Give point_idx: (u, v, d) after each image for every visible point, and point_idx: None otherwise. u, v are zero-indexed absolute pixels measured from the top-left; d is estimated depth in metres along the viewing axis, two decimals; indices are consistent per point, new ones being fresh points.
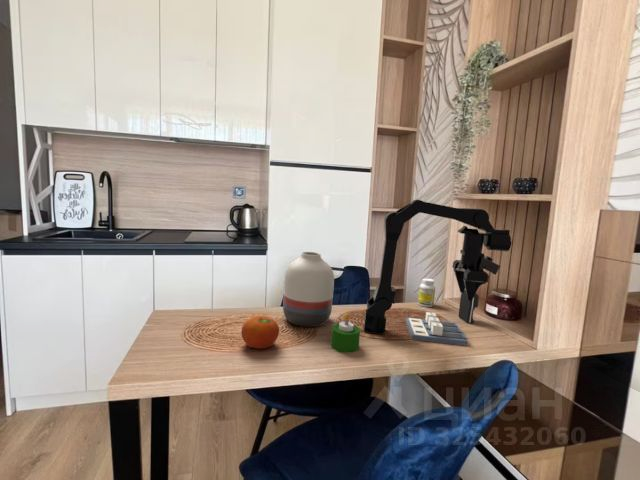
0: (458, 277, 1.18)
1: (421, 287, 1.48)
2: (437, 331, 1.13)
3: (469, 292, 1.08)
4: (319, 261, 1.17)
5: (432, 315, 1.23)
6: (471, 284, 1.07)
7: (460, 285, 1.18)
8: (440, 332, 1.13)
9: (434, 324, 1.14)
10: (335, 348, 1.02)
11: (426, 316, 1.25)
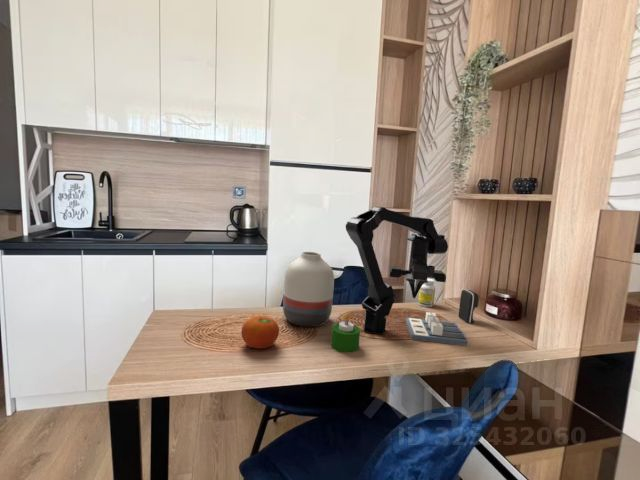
0: (416, 283, 1.25)
1: (421, 287, 1.48)
2: (437, 331, 1.13)
3: None
4: (319, 261, 1.17)
5: (432, 315, 1.23)
6: None
7: None
8: (440, 332, 1.13)
9: (434, 324, 1.14)
10: (335, 348, 1.02)
11: (426, 316, 1.25)
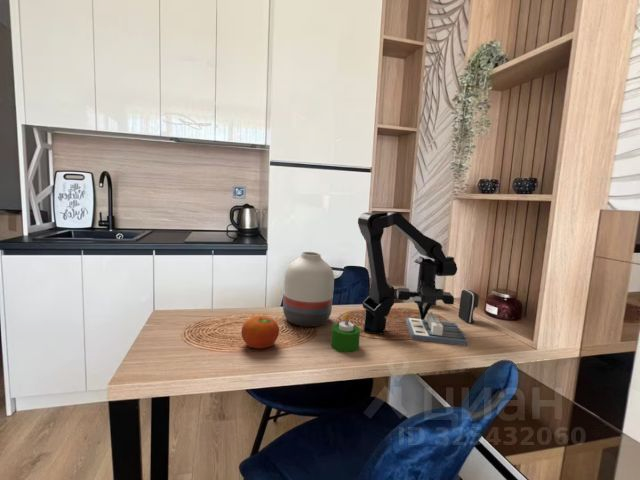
0: (424, 304, 1.26)
1: None
2: (437, 331, 1.13)
3: (419, 310, 1.25)
4: (319, 261, 1.17)
5: (432, 315, 1.23)
6: None
7: None
8: (440, 332, 1.13)
9: (434, 324, 1.14)
10: (335, 348, 1.02)
11: (426, 316, 1.25)
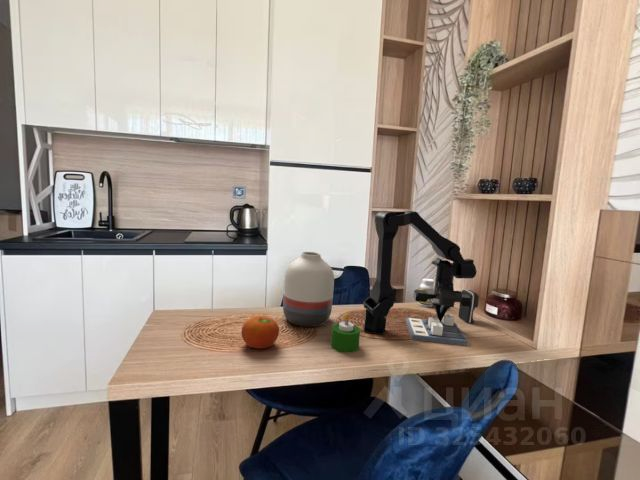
0: (441, 306, 1.25)
1: (421, 287, 1.48)
2: (437, 331, 1.13)
3: (436, 312, 1.25)
4: (319, 261, 1.17)
5: (450, 317, 1.22)
6: None
7: None
8: (440, 332, 1.13)
9: (434, 324, 1.14)
10: (335, 348, 1.02)
11: (444, 318, 1.24)
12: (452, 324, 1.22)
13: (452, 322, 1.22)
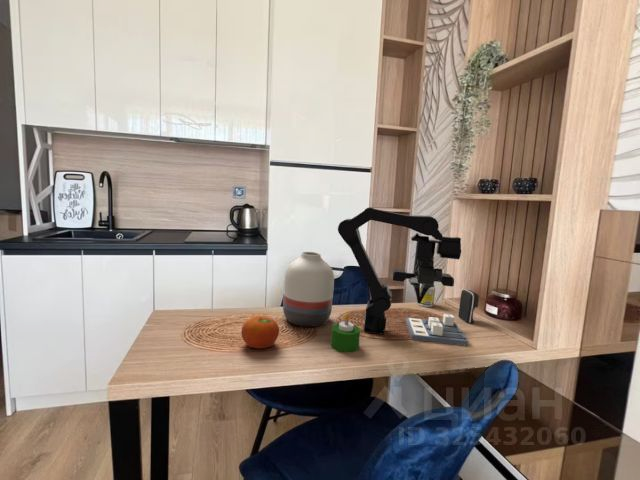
0: (421, 287, 1.15)
1: None
2: (437, 331, 1.13)
3: (415, 293, 1.15)
4: (319, 261, 1.17)
5: (450, 317, 1.22)
6: None
7: None
8: (440, 332, 1.13)
9: (434, 324, 1.14)
10: (335, 348, 1.02)
11: (444, 318, 1.24)
12: (452, 324, 1.22)
13: (452, 322, 1.22)
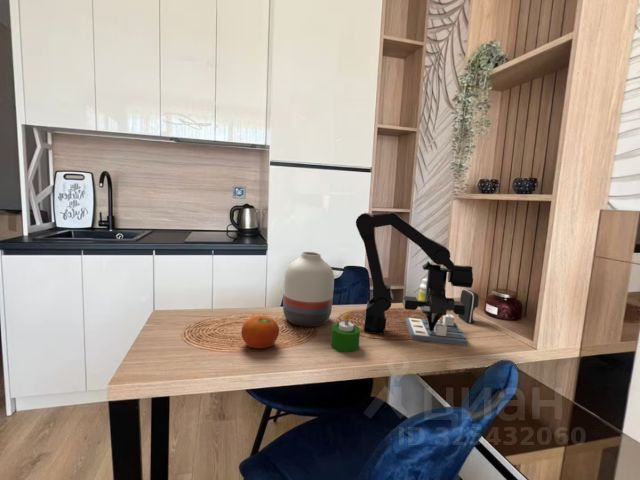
0: (432, 314, 1.16)
1: (421, 287, 1.48)
2: (441, 332, 1.13)
3: (427, 321, 1.15)
4: (319, 261, 1.17)
5: (450, 317, 1.22)
6: None
7: None
8: (444, 332, 1.13)
9: (438, 324, 1.14)
10: (335, 348, 1.02)
11: (444, 318, 1.24)
12: (452, 324, 1.22)
13: (452, 322, 1.22)
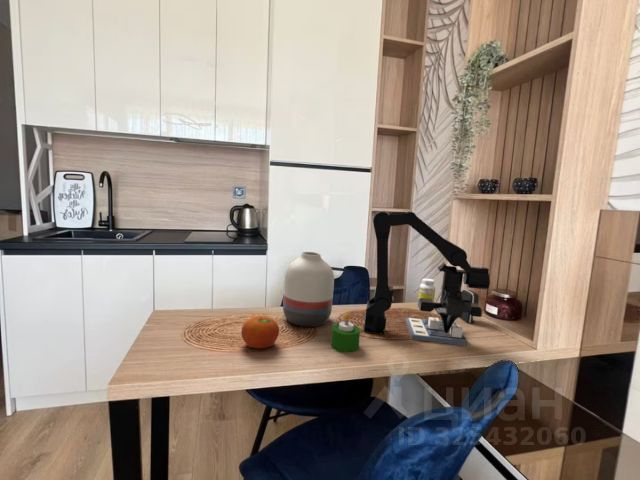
0: (447, 316, 1.15)
1: (421, 287, 1.48)
2: (456, 333, 1.13)
3: (442, 322, 1.15)
4: (319, 261, 1.17)
5: None
6: None
7: None
8: (459, 334, 1.12)
9: (453, 326, 1.14)
10: (335, 348, 1.02)
11: None
12: None
13: None
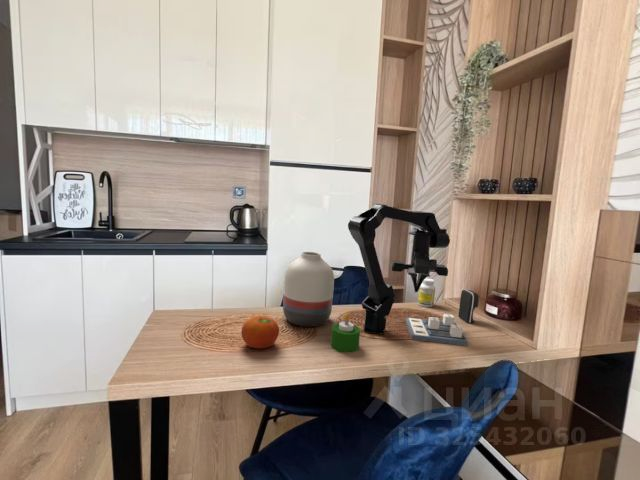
0: (418, 277, 1.25)
1: (421, 287, 1.48)
2: (456, 333, 1.13)
3: (413, 283, 1.25)
4: (319, 261, 1.17)
5: (450, 317, 1.22)
6: None
7: None
8: (459, 334, 1.12)
9: (453, 326, 1.14)
10: (335, 348, 1.02)
11: (444, 318, 1.24)
12: None
13: (452, 322, 1.22)
